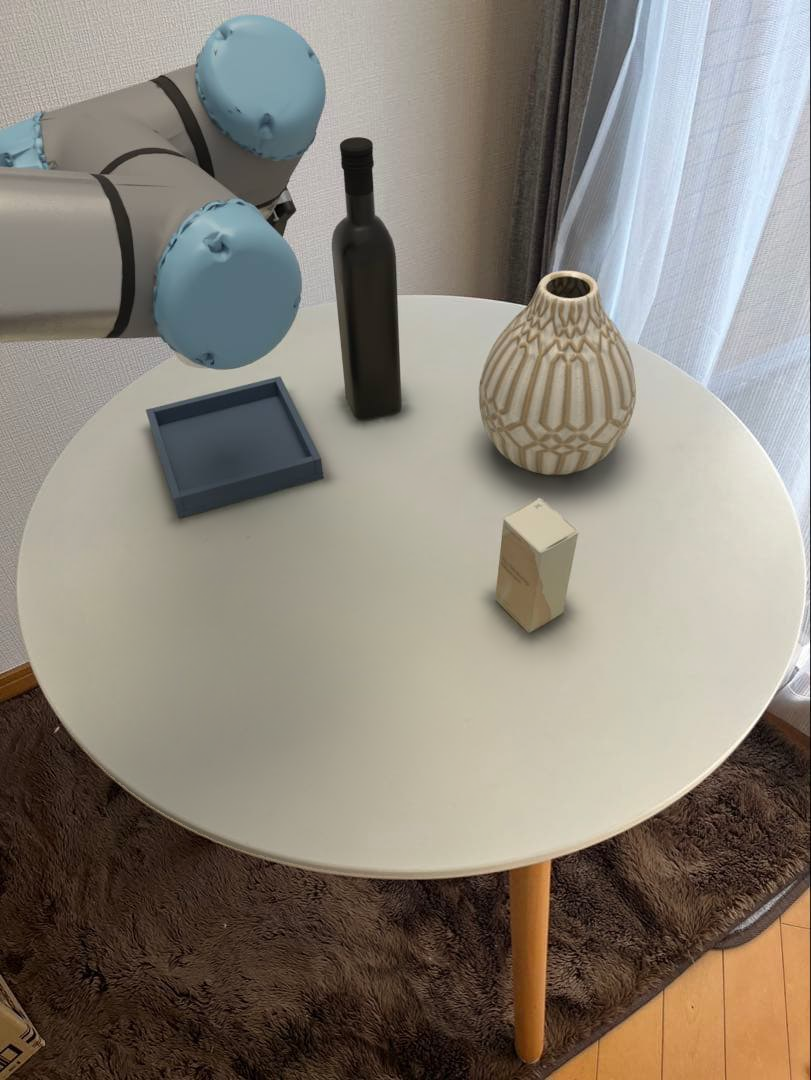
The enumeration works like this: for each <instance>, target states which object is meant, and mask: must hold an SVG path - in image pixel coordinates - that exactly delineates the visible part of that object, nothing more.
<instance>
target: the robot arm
mask: <svg viewBox="0 0 811 1080" xmlns="http://www.w3.org/2000/svg"><path fill="white" fill-rule="evenodd" d="M195 62H196V63H194V64H190V65H187V66H184V67H182V68H181V67H180V68H178V69H175V70H171V71H168V72H165V73H163V74H160V75H158V76H157V77H155V78H152V79H148V80H146V81H143V82H140V83H137V84H133V85H130V86H126V87H124V88H121V89H118V90H117V89H116V90H114V91H111V92H108V93H105V94H101V95H98V96H94V97H91V98H87V99H85V100H81V101H79V102H76V103H72V104H69V105H66V106H62V107H59V108H56V109H53V110H49V111H46V110H41V111H37V112H36V113H35V114H34V115H33V116H31V117H29V118H27V119H24V120H22V121H19V122H17V123H14V124H12V125H9V126H8V127H5V128H2V129H0V344H1V343H2V344H3V343H25V342H27V343H28V342H47V341H64V340H65V341H67V340H69V341H71V340H88V339H101V340H103V339H123V340H124V339H125V340H128V339H144V338H145V339H146V338H147V339H149V338H161V339H160V340H162V341H163V343H165V344H167V346H168V347H169V348H170V349H171V350H172V351H173V352H174V353H175V352H177V353H179V354H182V355H183V356H185V357H186V358H188V359H189V360H191V361H192V362H194V363H196V364H199V365H201V366H205V367H208V368H207V369H212V370H218V371H220V370H221V371H224V370H225V371H227V370H234V369H238V368H239V369H240V368H243V367H246V366H248V365H251V364H253V363H254V362H255V363H256V361H257V362H258V361H259V360H261V359H262V358H264V357H265V356H267V355H268V354H270V353H271V352H272V351H273V350H274V349H276V347H277V346H278V345H280V343H281V342H282V341H283V339H284V338H285V337H286V336H287V334H288V333H289V331H290V330H291V328H292V327H293V325H294V322H295V319H296V317H297V315H298V312H299V307H300V304H301V301H302V300H301V299H302V297H301V295H302V292H303V279H302V272H301V267H300V264H299V260H298V259H297V256H296V253H295V252H294V250H293V248H292V246H291V245H290V244H289V243H288V241H287V240H286V239H285V238H284V235H285V231H286V228H287V224H288V221H289V220H290V218H292V216H293V215H294V214H295V213H296V212H297V208H296V206H295V203H294V201H293V198H292V195H291V193H290V191H289V189H288V185H289V182H290V179H291V177H292V176H293V174H294V172H295V170H296V169H297V166H299V163H300V161H301V160H302V158H303V156H304V155H305V153H306V152H308V150H309V149H310V147H311V146H312V144H313V143H314V141H315V139H316V136H317V130H318V126H319V123H320V121H321V117H322V114H323V112H324V109H325V105H326V98H327V95H326V94H327V91H326V90H327V87H326V78H325V73H324V71H323V68H322V65H321V62H320V59H319V57H318V56H317V54H316V53H315V51H314V49H313V48H312V46H310V44H309V43H308V42H307V40H306V39H305V38H304V37H303V36H302V35H301V34H300V33H298V32H297V31H296V30H295V29H293V28H292V27H291V26H289V25H288V24H286V23H285V22H282V21H280V20H278V19H277V18H276V19H275V18H274V17H270V16H266V15H261V14H243V15H238V16H234V17H232V18H228V19H227V20H226V21H225V20H224V21H223V22H222V23H221V24H219V25H218V26H217V27H216V28H215V29H214V30H213V31H212V33H210V35H209V37H208V38H207V39H206V41H205V43H204V45H203V46H202V48H201V51H200V52H199V53H197V55H196V59H195Z"/></svg>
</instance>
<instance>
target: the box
mask: <svg viewBox="0 0 811 1080" xmlns="http://www.w3.org/2000/svg"><path fill="white" fill-rule="evenodd" d="M502 521H503V523H502V530H501V531H502V533H501V542H500V551H499V560H498V569H497V580H496V587H495V588H496V590H495V599H494V600H495V601H496V602H497V603H498V604H499V605H500V606H501V607H502V608H503V610H505V611H506V612H507V613H508V614H509V615H510V616H511V617H512V619H514V620H515V622H516V623H518V625H520V626H521V628H523V630H525V631H526V632H527V633H532V632H533V631H535V630H537V629H539V628H540V627H542V626H544V625H546V624H547V623H549V622H551V621H552V620H554V619H555V618H557V617H559V616H560V615H562V614H564V609H565V603H566V598H567V594H568V588H569V582H570V578H571V573H572V567H573V561H574V556H575V551H576V548H577V547H576V546H577V542H578V536H579V530H578V528H577V527H576V526H574V525H573V524H572V523H571V522H570V521H568V520H567V519H566V518H565V517H564V516H562V515H561V514H560V513H559V512H558V511H557V510H555V509H554V508H553V507H552V506H551V505H550V504H548V503H547V502H546V501H544V499H543V498H540V497H538V498H537V499H535V500H533V501H531V502H529V503H528V504H525V505H524V506H522V507H520V508H518V509H517V510H514V511H513V512H511V513H510V514H508V515H506V516H504V517H503V520H502Z"/></svg>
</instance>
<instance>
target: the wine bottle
mask: <svg viewBox="0 0 811 1080" xmlns="http://www.w3.org/2000/svg"><path fill="white" fill-rule="evenodd" d="M339 152H340V156H341V158H340V160H341V161H340V163H341V166H340V167H341V169H342V170H343V180H344V181H343V182H344V183H343V184H344V196H345V197H344V198H345V209H346V216H345V217H343V219H341V220H340V221H339V222H338V223H337V225H336V226H335V228H334V229H333V232H332V238H331V257H332V267H333V276H334V277H333V278H334V289H335V297H336V309H337V319H338V330H339V341H340V351H341V361H342V362H341V363H342V371H343V372H342V373H343V383H344V392H345V395H344V396H345V399H346V401H347V404H348V406H349V408H350V410H351V412H352V414H353V416H354V418H356V419H357V420H360V421H369V420H371V419H376V418H380V417H381V418H382V417H385V416H389V415H394V414H396V413H400V411H401V410H402V407H403V406H402V381H401V357H400V352H401V351H400V331H399V330H400V329H399V303H398V278H397V277H398V275H397V256H396V248H395V244H394V243H395V242H394V240H393V238H392V235H391V234H390V232H389V229H388V228H387V227H386V225H385V223H384V221H383V220H382V219H381V218H380V217H379V216H378V215H376V207H375V205H376V204H375V191H374V190H375V189H374V188H375V187H374V175H373V174H374V173H373V168H374V166H375V162H374V144H373V141H372V140H370V139H369V138H366V137H361V136H354V137H353V136H352V137H348V138H346V139H343V140H342V141H341V142H340V143H339Z"/></svg>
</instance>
